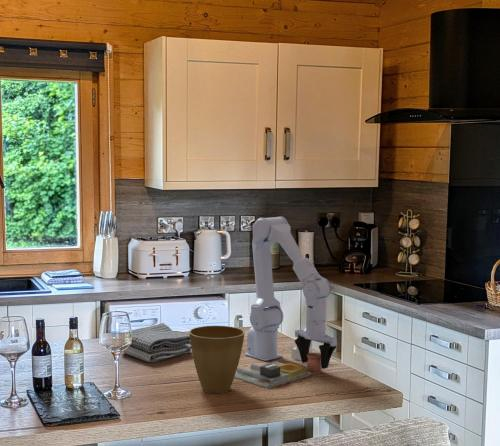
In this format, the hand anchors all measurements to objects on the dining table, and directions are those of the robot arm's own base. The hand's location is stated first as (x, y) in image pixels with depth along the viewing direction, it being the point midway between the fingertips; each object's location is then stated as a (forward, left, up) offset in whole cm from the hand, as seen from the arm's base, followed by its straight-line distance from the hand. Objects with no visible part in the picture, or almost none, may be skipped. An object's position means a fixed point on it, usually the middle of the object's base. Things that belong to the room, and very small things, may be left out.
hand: (314, 365), depth 223 cm
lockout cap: (0, 0, -2) cm, 2 cm away
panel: (-5, -13, -2) cm, 14 cm away
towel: (-45, -24, -2) cm, 51 cm away
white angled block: (-12, +8, -2) cm, 15 cm away
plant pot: (-7, -33, -2) cm, 34 cm away
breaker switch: (-2, -17, -1) cm, 17 cm away
